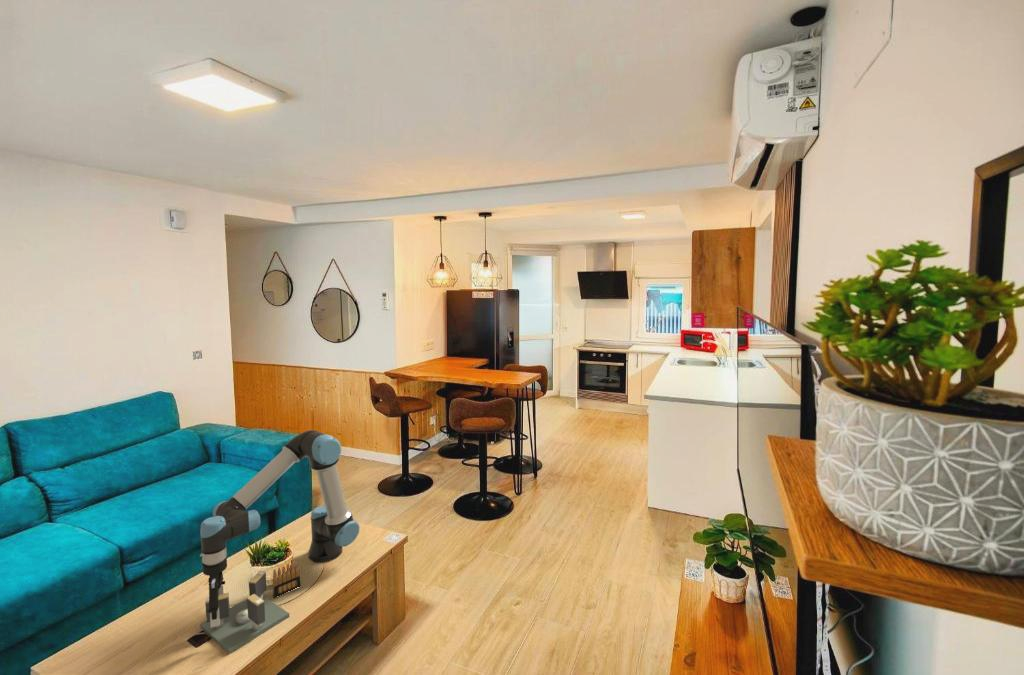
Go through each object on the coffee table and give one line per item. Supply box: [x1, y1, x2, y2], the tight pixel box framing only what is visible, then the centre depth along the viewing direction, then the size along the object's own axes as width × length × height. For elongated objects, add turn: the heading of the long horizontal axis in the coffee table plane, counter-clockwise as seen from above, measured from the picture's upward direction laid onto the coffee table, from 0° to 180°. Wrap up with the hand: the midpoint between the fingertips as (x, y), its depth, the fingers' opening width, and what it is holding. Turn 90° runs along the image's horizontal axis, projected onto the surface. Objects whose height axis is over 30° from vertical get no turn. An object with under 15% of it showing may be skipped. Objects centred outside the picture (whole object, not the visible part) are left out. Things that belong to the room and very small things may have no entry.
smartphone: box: [186, 629, 213, 648], centre depth 171 cm, size 7×1×15 cm
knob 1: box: [204, 592, 230, 629], centre depth 171 cm, size 7×3×12 cm, turn 117°
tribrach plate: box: [199, 594, 290, 655], centre depth 176 cm, size 22×22×4 cm
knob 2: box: [246, 594, 265, 631], centre depth 170 cm, size 7×3×12 cm, turn 57°
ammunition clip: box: [272, 560, 302, 599], centre depth 193 cm, size 11×2×12 cm, turn 134°
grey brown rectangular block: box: [248, 570, 268, 600], centre depth 183 cm, size 7×3×12 cm, turn 177°
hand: (217, 614), depth 171 cm, fingers open, 13 cm apart
